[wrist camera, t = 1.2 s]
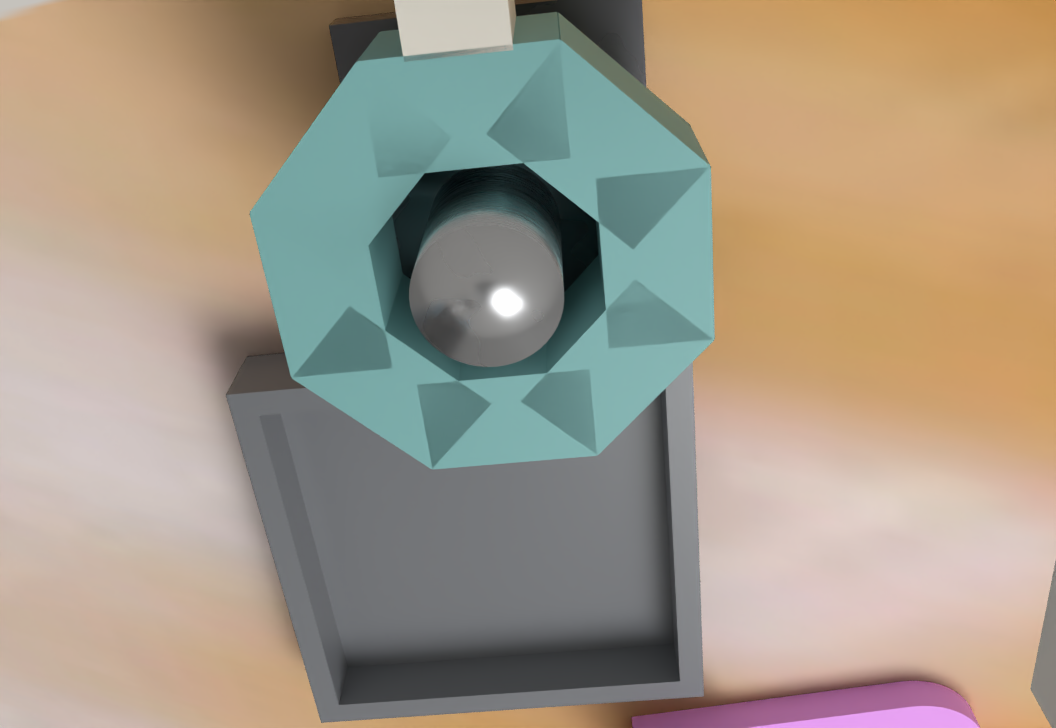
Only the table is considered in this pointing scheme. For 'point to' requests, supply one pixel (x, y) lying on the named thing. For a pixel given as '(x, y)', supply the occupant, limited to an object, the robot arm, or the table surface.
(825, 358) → the table surface
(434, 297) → the rounded cylinder on base
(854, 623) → the table surface
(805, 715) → the bracket
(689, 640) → the tray
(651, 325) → the ring
